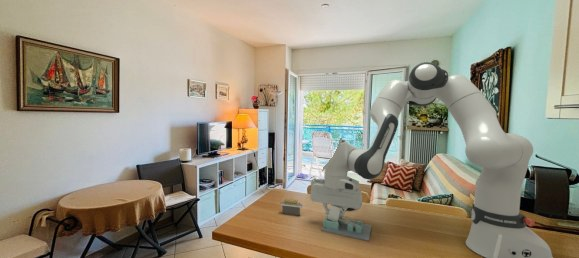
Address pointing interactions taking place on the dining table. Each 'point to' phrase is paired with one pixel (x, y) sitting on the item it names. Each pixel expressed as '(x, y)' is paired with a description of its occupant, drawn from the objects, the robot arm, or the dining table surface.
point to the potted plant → (291, 207)
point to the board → (347, 229)
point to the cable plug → (338, 215)
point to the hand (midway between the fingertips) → (335, 215)
